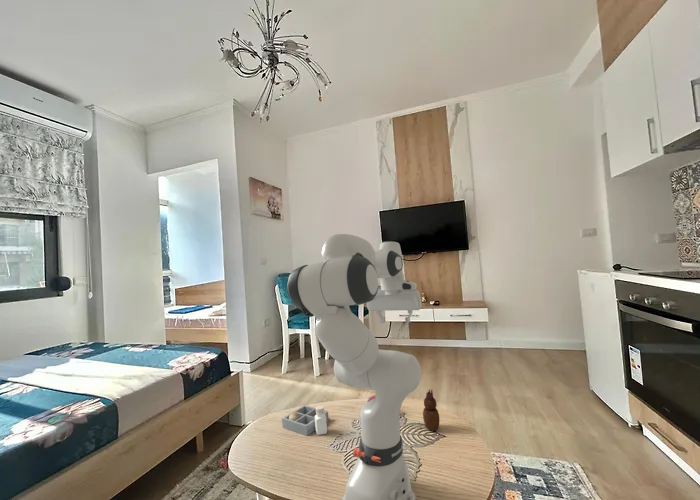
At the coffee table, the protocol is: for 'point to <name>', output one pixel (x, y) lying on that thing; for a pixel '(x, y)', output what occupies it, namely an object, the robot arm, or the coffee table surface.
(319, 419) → the pepper shaker
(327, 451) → the coffee table surface
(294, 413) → the brown ball
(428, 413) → the wooden figurine
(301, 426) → the grey compartment tray
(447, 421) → the coffee table surface
